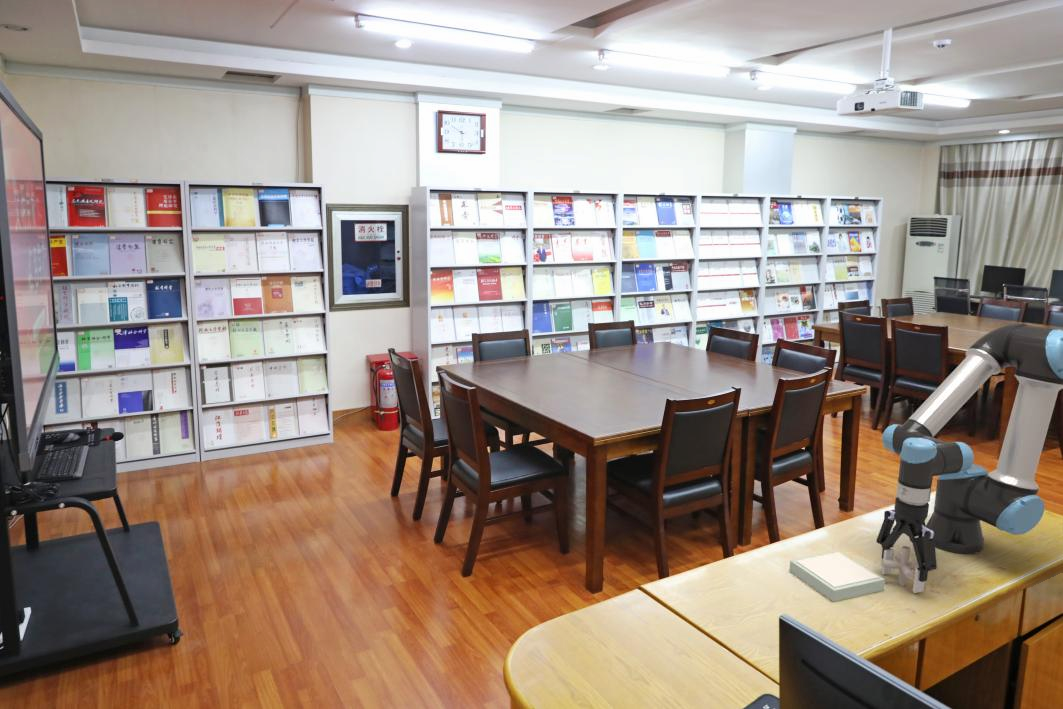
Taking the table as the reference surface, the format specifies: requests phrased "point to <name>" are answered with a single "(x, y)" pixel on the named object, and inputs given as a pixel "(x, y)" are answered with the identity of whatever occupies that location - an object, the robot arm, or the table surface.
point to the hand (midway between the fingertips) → (901, 581)
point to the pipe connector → (902, 565)
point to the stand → (836, 576)
